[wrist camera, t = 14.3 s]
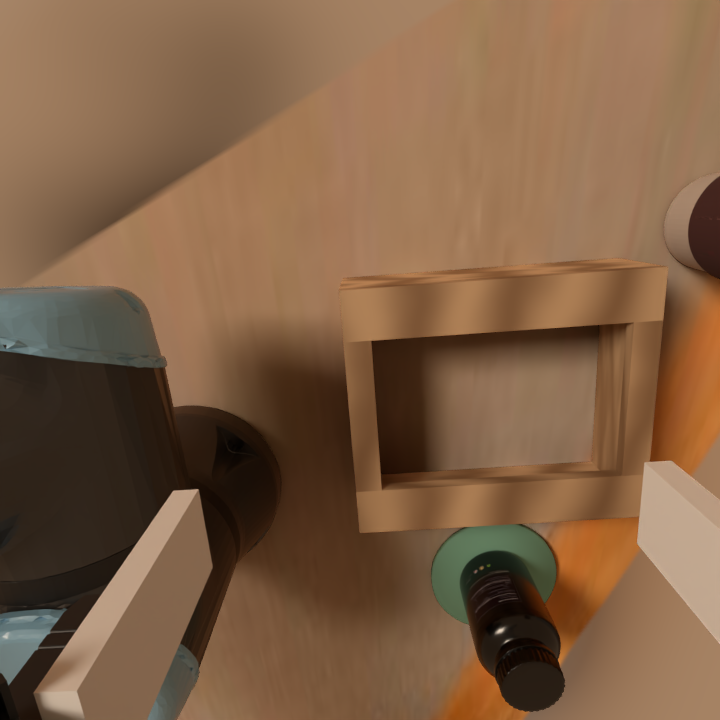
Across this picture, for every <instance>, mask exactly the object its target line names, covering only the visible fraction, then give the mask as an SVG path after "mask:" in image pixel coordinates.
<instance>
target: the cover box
mask: <svg viewBox="0 0 720 720" xmlns="http://www.w3.org/2000/svg"><path fill="white" fill-rule="evenodd" d="M667 275H668V267H666V266H661V265H655V264H649V263H644V262H638V261H633V260H627V259H621V258H612V259H598V260H585V261H571V262H557V263H544V264H530V265H516V266H503V267H489V268H475V269H462V270H448V271H435V272H421V273H407V274H394V275H380V276H366V277H353V278H343V280H342V283H341V286H340V289H339V299H340V311H341V323H342V334H343V346H344V358H345V369H346V381H347V393H348V404H349V416H350V427H351V439H352V451H353V462H354V474H355V486H356V497H357V509H358V521H359V532H360V533H371V532H389V531H406V530H423V529H440V528H458V527H475V526H492V525H509V524H527V523H544V522H561V521H578V520H596V519H613V518H630V517H640V506H641V495H642V484H643V473H644V463H645V462H650V455H651V444H652V434H653V423H654V413H655V402H656V391H657V381H658V370H659V360H660V349H661V339H662V328H663V317H664V307H665V296H666V286H667ZM590 325H600V328H599V345H598V362H597V379H596V396H595V413H594V430H593V447H592V462H577V463H561V464H545V465H529V466H512V467H496V468H480V469H463V470H447V471H431V472H415V473H398V474H382V475H381V471H380V457H379V443H378V428H377V414H376V400H375V386H374V371H373V357H372V343H371V341H374V340H388V339H402V338H417V337H431V336H446V335H460V334H474V333H489V332H503V331H518V330H532V329H546V328H561V327H575V326H590Z"/></svg>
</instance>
